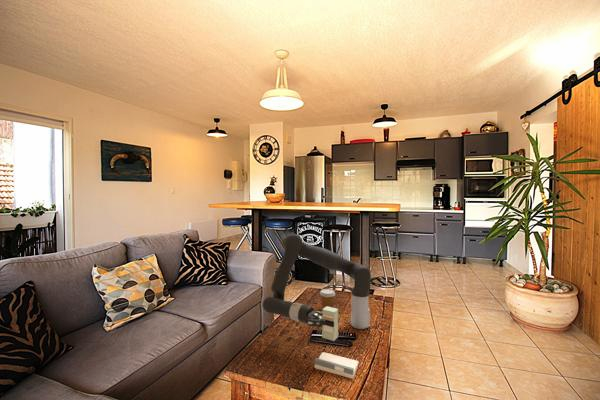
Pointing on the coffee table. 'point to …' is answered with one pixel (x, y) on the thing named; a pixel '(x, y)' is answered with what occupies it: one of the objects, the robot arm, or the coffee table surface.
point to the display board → (336, 364)
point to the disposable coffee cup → (327, 297)
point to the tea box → (331, 315)
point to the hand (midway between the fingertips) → (336, 322)
